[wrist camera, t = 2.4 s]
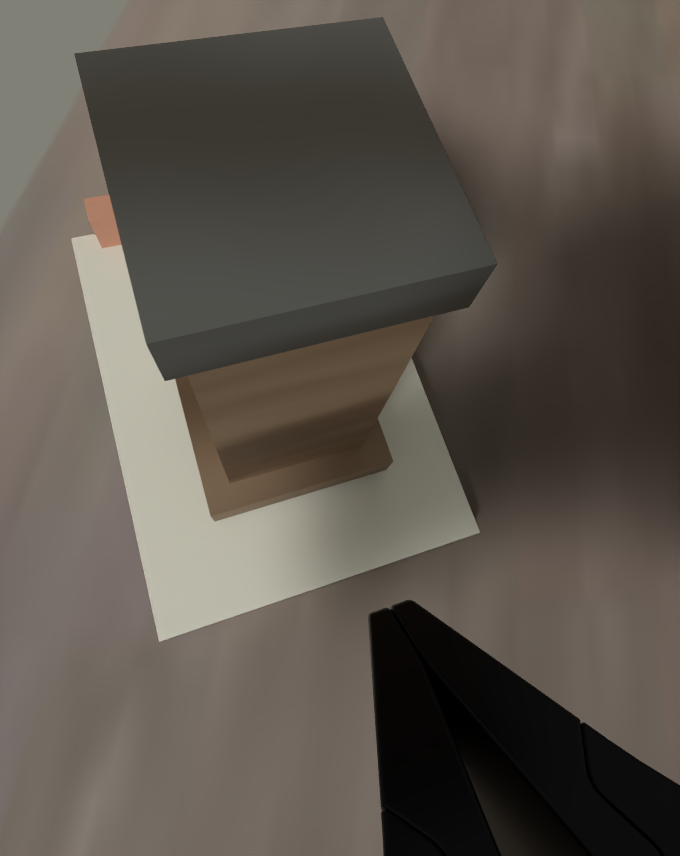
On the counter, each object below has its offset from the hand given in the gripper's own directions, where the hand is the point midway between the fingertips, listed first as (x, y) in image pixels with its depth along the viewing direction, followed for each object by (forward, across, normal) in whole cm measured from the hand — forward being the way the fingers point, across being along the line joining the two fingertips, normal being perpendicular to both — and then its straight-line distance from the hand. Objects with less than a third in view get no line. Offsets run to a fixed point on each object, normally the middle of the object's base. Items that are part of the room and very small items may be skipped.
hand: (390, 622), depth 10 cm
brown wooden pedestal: (+10, 0, 0) cm, 10 cm away
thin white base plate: (+12, 0, 0) cm, 12 cm away
